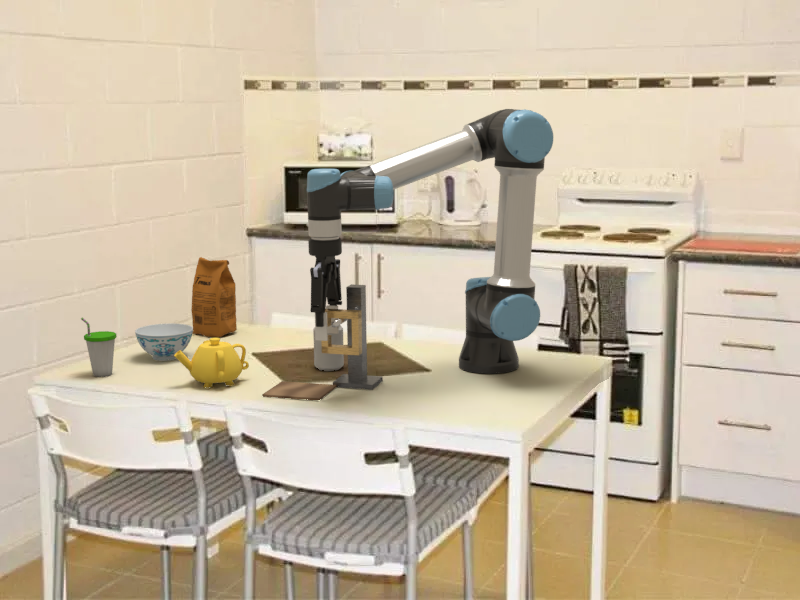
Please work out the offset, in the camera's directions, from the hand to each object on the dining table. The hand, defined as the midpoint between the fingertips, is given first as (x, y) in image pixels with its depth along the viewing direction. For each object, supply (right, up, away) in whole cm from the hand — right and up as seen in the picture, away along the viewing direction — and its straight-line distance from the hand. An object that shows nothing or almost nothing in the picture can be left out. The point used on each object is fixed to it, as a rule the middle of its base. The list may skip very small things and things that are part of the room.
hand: (327, 336), depth 266 cm
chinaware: (-45, -7, +40) cm, 61 cm away
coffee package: (-37, -2, +69) cm, 78 cm away
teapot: (-29, -12, +15) cm, 35 cm away
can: (-1, -9, +28) cm, 29 cm away
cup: (-58, -11, +24) cm, 63 cm away
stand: (+5, -13, +6) cm, 15 cm away
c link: (+3, -4, 0) cm, 5 cm away
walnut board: (-7, -13, +6) cm, 16 cm away
